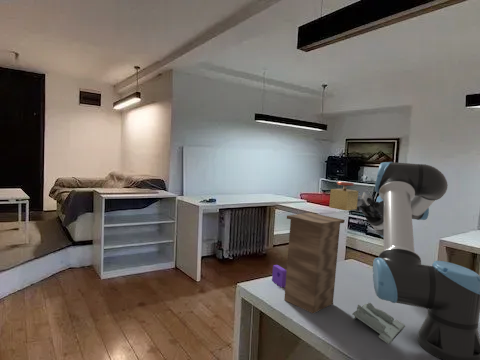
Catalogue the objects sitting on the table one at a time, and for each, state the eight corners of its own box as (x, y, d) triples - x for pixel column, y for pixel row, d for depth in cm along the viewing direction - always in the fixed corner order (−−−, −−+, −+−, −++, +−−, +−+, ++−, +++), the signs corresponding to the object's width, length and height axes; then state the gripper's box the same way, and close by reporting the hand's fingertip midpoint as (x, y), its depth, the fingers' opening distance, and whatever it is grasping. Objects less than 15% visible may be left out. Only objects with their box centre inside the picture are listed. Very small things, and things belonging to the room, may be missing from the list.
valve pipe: (359, 203, 140) (361, 181, 139) (375, 206, 135) (377, 182, 134) (329, 207, 124) (331, 181, 123) (346, 210, 118) (348, 183, 118)
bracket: (281, 288, 125) (282, 271, 125) (271, 281, 131) (273, 265, 131) (306, 284, 131) (307, 268, 130) (295, 278, 137) (297, 262, 136)
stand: (304, 290, 124) (310, 212, 122) (336, 304, 114) (344, 219, 111) (280, 299, 114) (286, 215, 112) (313, 315, 104) (321, 223, 102)
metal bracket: (348, 309, 98) (367, 295, 109) (342, 324, 100) (361, 309, 111) (395, 341, 89) (411, 323, 100) (387, 358, 91) (403, 338, 102)
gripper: (394, 230, 138) (375, 206, 123) (355, 222, 150) (334, 199, 136) (399, 214, 140) (381, 188, 125) (360, 207, 153) (340, 183, 138)
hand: (357, 194), depth 130 cm, fingers closed on valve pipe, 4 cm apart
